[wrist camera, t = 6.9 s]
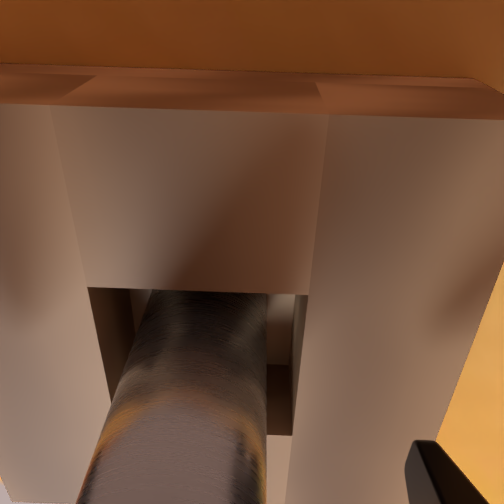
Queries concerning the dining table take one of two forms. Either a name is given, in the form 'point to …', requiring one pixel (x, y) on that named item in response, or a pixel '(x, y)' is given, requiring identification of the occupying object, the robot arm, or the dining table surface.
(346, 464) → the bore block
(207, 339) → the pin
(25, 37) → the dining table surface
